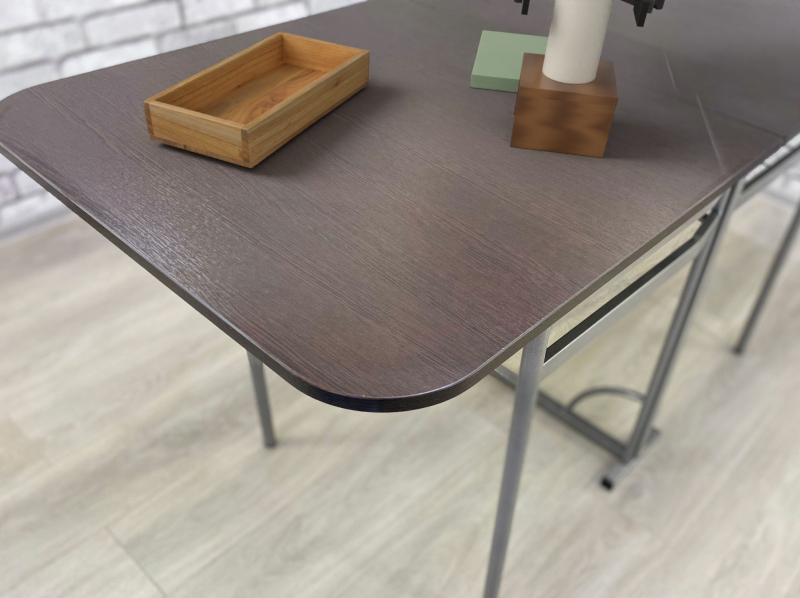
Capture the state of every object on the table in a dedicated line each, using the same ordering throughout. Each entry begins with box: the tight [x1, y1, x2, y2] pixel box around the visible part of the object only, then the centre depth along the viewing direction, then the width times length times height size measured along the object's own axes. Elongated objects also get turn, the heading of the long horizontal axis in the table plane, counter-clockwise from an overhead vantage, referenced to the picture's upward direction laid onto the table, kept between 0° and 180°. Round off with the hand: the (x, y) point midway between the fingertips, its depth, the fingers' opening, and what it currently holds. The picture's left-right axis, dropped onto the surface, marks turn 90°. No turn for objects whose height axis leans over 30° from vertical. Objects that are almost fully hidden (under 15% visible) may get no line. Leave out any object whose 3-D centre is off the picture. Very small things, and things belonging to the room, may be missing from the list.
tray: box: [142, 31, 371, 169], centre depth 96 cm, size 31×15×6 cm, turn 154°
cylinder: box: [542, 0, 615, 84], centre depth 87 cm, size 7×7×16 cm
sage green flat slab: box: [469, 29, 549, 94], centre depth 113 cm, size 16×20×2 cm
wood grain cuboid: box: [509, 52, 619, 158], centre depth 95 cm, size 12×12×8 cm
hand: (584, 8), depth 84 cm, fingers open, 13 cm apart
